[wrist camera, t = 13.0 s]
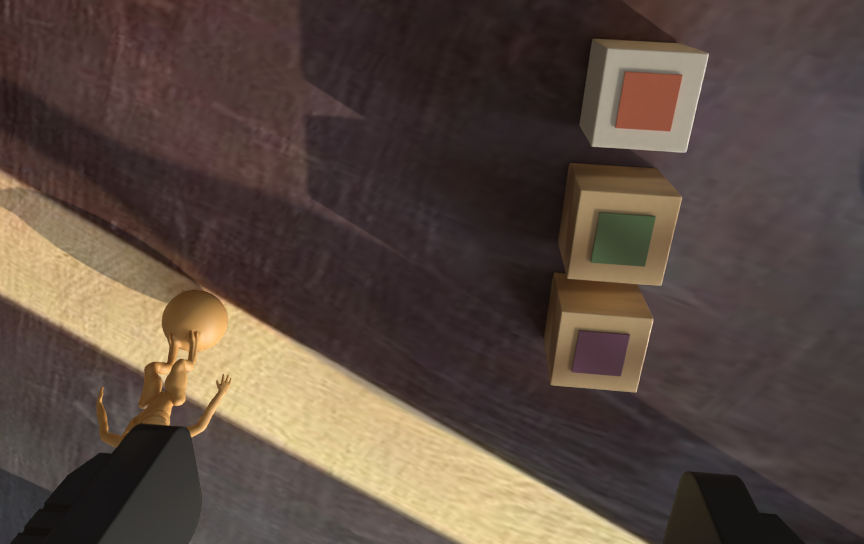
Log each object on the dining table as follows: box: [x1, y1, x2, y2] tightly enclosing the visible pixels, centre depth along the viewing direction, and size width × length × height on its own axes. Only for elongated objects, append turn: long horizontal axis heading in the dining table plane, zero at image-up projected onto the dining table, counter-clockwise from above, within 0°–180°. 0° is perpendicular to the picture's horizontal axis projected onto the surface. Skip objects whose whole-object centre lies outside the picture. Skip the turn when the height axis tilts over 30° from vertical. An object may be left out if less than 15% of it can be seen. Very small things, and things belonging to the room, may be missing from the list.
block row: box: [544, 163, 682, 392], centre depth 32 cm, size 26×5×5 cm, turn 178°
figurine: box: [97, 290, 231, 448], centre depth 36 cm, size 8×6×12 cm
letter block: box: [579, 39, 709, 152], centre depth 31 cm, size 5×5×5 cm
